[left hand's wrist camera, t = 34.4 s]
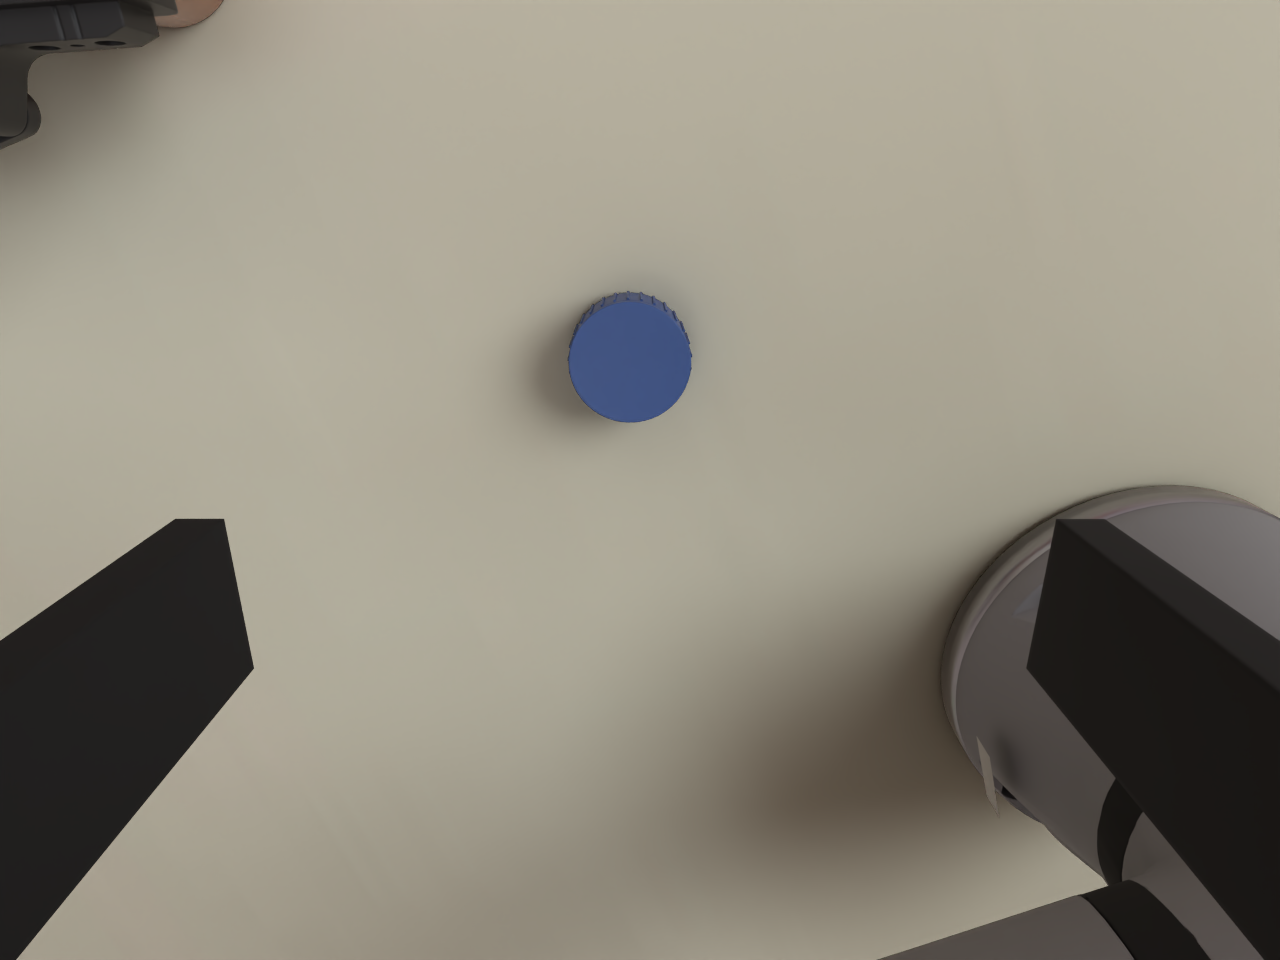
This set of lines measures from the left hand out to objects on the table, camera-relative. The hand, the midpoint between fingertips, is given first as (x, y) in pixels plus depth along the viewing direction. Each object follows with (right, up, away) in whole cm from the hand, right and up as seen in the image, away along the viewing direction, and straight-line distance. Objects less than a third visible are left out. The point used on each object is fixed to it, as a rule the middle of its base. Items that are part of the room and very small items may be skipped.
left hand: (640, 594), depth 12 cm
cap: (0, +6, +13) cm, 15 cm away
